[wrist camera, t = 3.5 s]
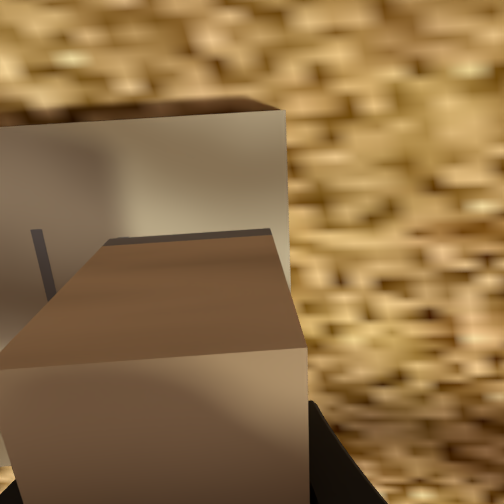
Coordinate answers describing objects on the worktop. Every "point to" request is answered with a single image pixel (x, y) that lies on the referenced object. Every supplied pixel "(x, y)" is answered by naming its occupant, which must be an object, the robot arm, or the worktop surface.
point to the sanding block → (162, 379)
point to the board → (129, 194)
